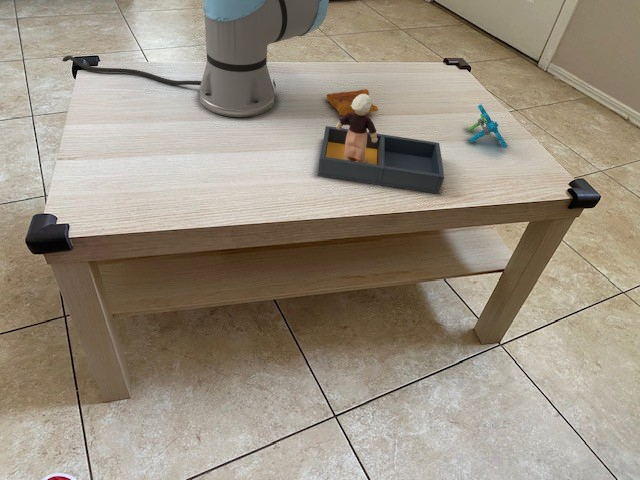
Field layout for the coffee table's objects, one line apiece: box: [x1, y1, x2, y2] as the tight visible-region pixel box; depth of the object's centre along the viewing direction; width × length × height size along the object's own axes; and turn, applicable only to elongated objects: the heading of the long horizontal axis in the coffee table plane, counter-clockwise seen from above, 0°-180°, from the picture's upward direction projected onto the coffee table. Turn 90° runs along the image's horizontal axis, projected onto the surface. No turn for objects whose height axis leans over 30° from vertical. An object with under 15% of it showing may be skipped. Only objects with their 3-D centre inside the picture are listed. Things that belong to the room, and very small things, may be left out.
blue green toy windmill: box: [468, 104, 508, 150], centre depth 97 cm, size 11×6×10 cm
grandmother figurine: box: [335, 94, 378, 163], centre depth 83 cm, size 8×4×13 cm, turn 77°
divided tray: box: [317, 125, 445, 195], centre depth 87 cm, size 21×11×4 cm, turn 84°
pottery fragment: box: [326, 88, 379, 116], centre depth 103 cm, size 10×5×10 cm
